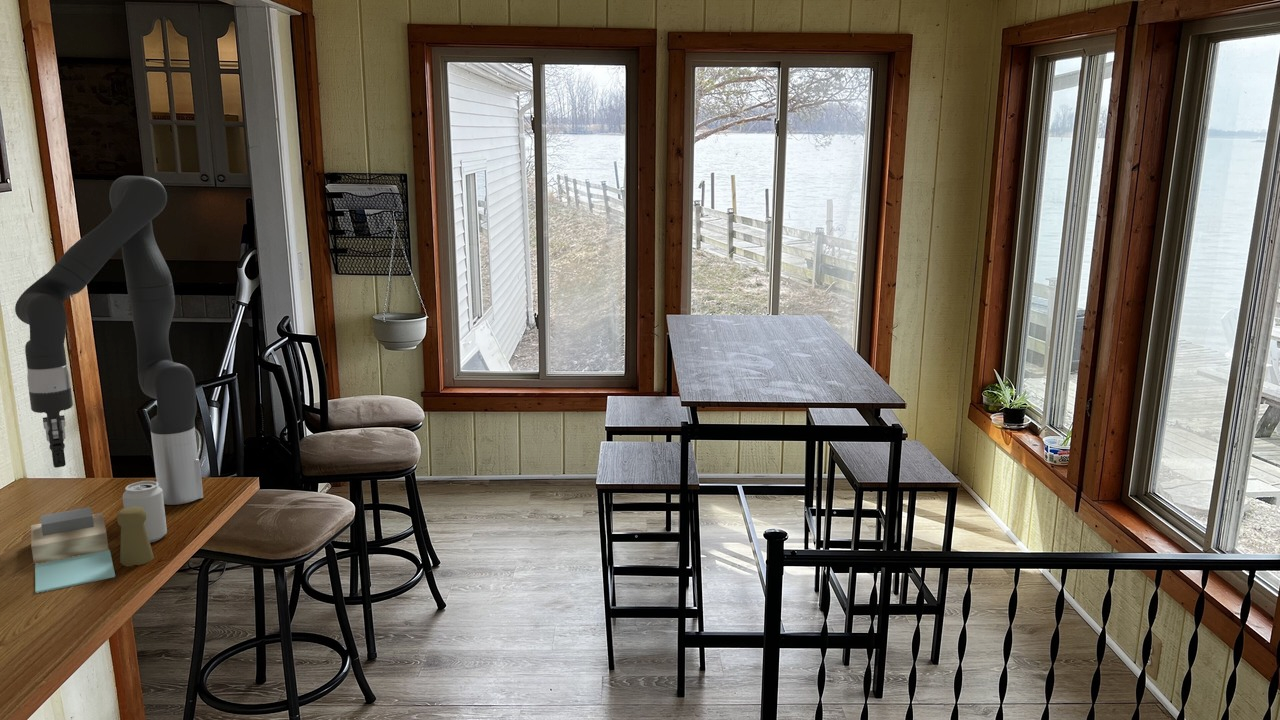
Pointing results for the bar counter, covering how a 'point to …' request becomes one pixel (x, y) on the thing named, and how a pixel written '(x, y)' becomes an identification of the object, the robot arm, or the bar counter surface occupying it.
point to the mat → (73, 571)
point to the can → (148, 506)
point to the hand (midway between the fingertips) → (59, 466)
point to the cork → (134, 537)
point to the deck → (69, 541)
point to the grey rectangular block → (66, 521)
